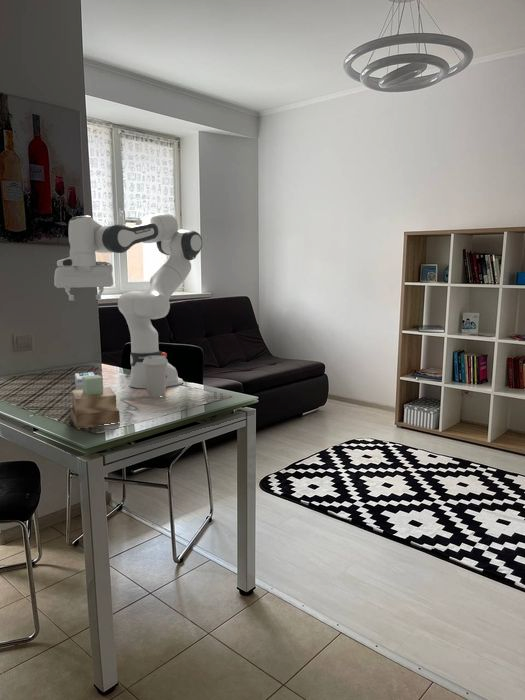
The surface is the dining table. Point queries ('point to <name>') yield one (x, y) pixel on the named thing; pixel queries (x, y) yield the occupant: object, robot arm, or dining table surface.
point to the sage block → (92, 384)
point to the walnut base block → (94, 418)
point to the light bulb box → (79, 379)
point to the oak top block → (94, 402)
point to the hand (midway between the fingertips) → (85, 299)
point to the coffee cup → (155, 375)
